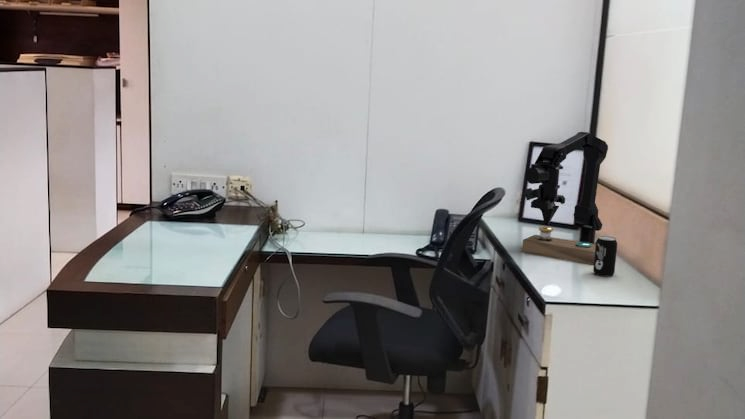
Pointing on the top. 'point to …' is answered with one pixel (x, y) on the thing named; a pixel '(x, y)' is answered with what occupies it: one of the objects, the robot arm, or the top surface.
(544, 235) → the plunger ochre
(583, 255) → the walnut block
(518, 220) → the top surface
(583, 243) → the plunger teal
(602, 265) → the beverage can
